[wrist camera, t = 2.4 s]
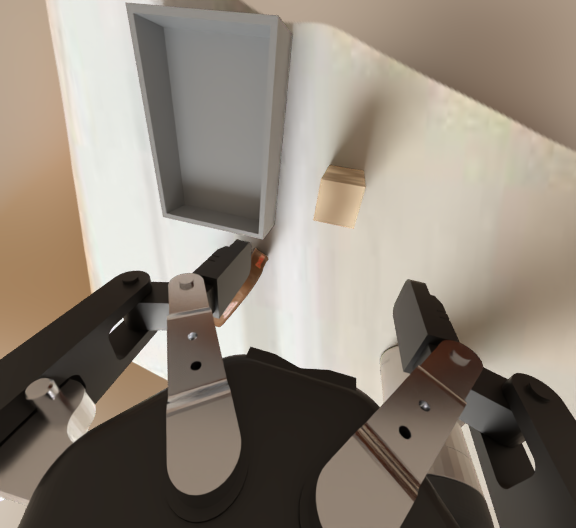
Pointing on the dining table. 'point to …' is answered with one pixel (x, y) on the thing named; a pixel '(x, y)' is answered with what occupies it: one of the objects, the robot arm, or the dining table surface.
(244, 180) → the bin
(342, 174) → the wooden block
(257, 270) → the tin
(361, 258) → the dining table surface
